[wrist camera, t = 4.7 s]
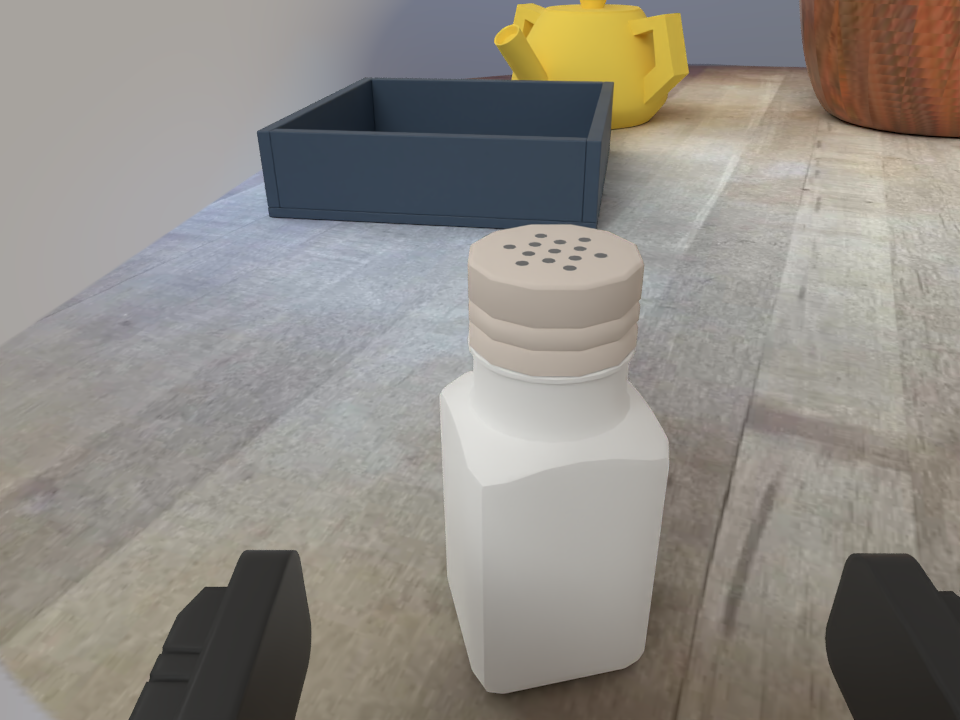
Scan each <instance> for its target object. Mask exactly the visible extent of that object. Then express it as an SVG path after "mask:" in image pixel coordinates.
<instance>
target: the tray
mask: <svg viewBox="0 0 960 720" xmlns="http://www.w3.org/2000/svg"><path fill="white" fill-rule="evenodd" d="M613 92H614V82H601V81H541V80H482V79H422V78H363V79H361V80H359V81H357V82H355V83H353V84H351V85H349V86H347V87H345V88H344V89H341V90H339V91H337V92H335V93H333V94H331V95H329V96H327V97H325V98H323V99H321V100H319V101H317V102H315V103H313V104H311V105H309V106H307V107H305V108H303V109H301V110H299V111H297V112H295V113H293V114H291V115H289V116H287V117H285V118H283V119H281V120H279V121H277V122H275V123H273V124H271V125H269V126H267V127H265V128H263V129H261V130H259V131H257V136H258V142H259V149H260V156H261V162H262V169H263V176H264V182H265V189H266V196H267V202H268V210H269V216H270V217H284V218H304V219H324V220H344V221H364V222H384V223H404V224H423V225H443V226H463V227H483V228H503V229H510V228H515V227H520V226H526V225H576V226H582V227H587V228H593V229H597V223H598V217H599V211H600V205H601V198H602V192H603V186H604V180H605V174H606V168H607V162H608V156H609V150H610V135H611V121H612V106H613Z"/></svg>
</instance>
